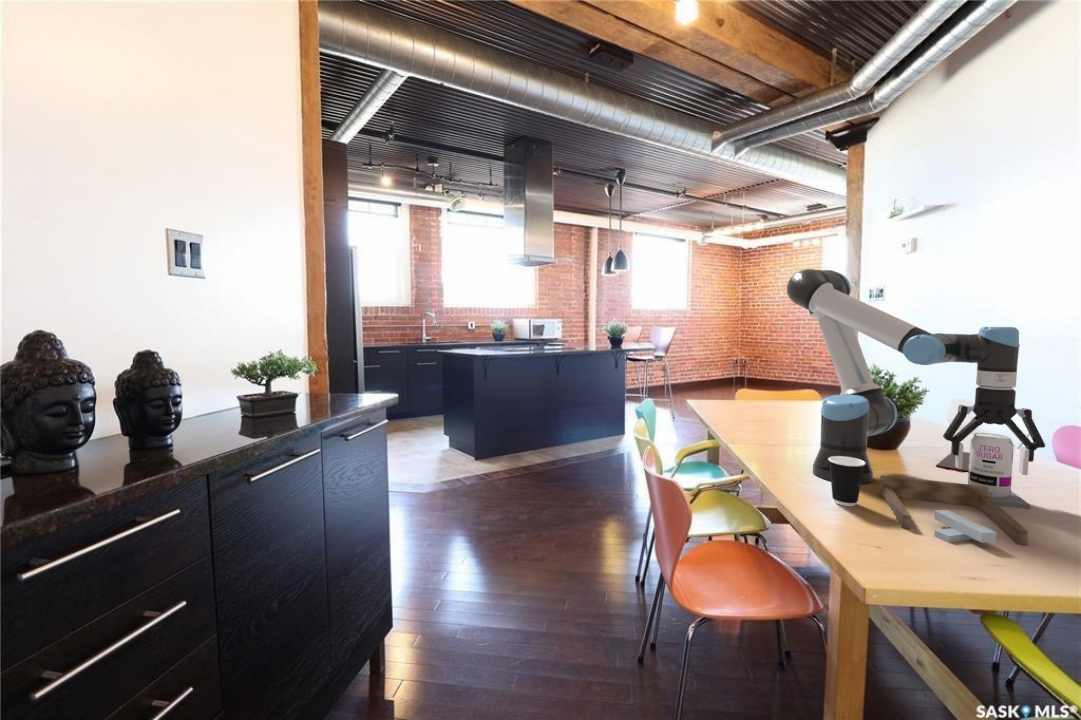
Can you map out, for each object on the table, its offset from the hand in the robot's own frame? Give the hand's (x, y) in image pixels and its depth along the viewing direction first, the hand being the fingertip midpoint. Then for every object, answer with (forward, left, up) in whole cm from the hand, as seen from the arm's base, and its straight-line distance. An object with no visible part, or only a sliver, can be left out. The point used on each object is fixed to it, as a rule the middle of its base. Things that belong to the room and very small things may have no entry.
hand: (990, 470), depth 128 cm
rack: (-14, -20, -7) cm, 25 cm away
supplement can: (0, 0, -6) cm, 6 cm away
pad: (0, 0, -7) cm, 7 cm away
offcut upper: (-14, -32, -6) cm, 35 cm away
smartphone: (+6, +35, -8) cm, 37 cm away
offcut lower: (-14, -32, -8) cm, 35 cm away
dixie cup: (-34, -20, -7) cm, 40 cm away
